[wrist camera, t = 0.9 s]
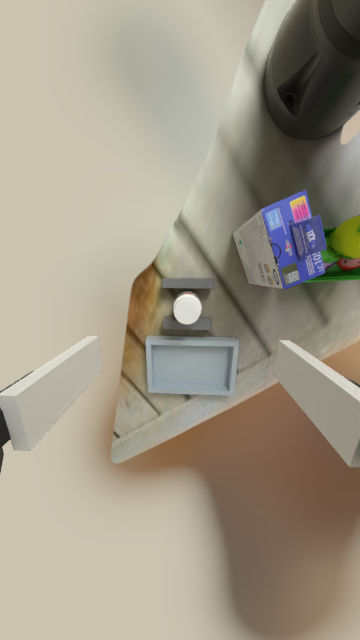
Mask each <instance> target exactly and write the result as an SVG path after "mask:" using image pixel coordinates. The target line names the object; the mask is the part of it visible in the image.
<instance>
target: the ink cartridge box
mask: <svg viewBox="0 0 360 640" xmlns="http://www.w3.org/2000/svg"><path fill="white" fill-rule="evenodd" d="M233 238H234V241H235V244H236V247H237V250H238V253H239V256H240V259H241V262H242V265H243V267H244V271H245V273H246V276H247V280H248V282H249V284H254V285H260V286H267V287H273V288H278V289H283V290H284V289H287V288H290V287H292V286H295V285H297V284H300V283H302V282H305V281H307V280H310V279H312V278H315V277H317V276H319V275H322V274H324V273H325V268H324V264H323V260H322V256H321V252H320V251H323V250H326V249H327V246H326V242H325V237H324V232H323V227H322V223H321V218H320V215H317V216H314V217H312V214H311V210H310V205H309V201H308V197H307V193H306V190H304V191H301V192H299V193H296V194H294V195H292V196H290V197H287V198H285V199H283V200H281V201H278V202H276V203H274V204H272V205H269V206H267V207H265V208H263V209H261V210H260V211H259V212H257V213H256V214H255V215H254V216H253V217H251V218H250V219H249V220H248V221H247V222H245V223H244V224H243V225H242V226H241V227H239V228H238V229H237V230H236V231H235V232H233Z"/></svg>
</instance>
